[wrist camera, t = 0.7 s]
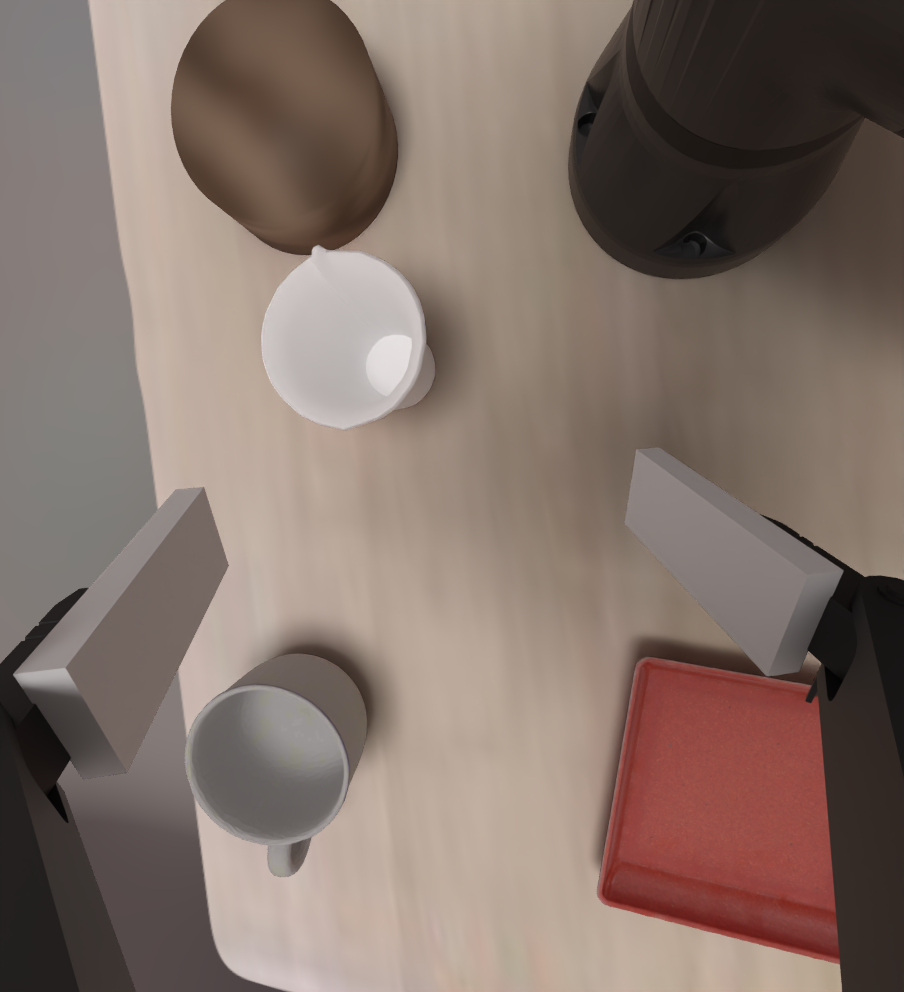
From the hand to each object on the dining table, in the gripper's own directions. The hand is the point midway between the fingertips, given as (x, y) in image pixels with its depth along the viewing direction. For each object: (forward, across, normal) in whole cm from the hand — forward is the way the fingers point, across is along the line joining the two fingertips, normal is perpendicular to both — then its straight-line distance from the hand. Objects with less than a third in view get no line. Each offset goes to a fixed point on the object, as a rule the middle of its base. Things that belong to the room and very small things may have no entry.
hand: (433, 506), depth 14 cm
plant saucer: (+4, +21, -27) cm, 34 cm away
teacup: (+13, -9, -26) cm, 30 cm away
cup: (+21, -1, 0) cm, 21 cm away
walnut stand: (+28, -5, +13) cm, 31 cm away
